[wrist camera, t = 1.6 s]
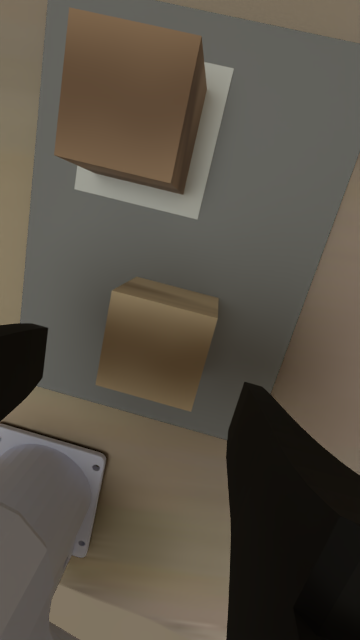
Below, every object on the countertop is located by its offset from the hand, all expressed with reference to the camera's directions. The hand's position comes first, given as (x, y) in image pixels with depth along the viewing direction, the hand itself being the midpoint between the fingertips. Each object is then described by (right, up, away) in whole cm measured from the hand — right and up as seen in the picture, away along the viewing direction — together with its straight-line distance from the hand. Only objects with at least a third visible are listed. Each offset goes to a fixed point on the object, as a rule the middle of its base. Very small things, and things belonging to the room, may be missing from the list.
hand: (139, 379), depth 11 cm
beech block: (+1, +2, +6) cm, 7 cm away
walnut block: (0, +11, +4) cm, 11 cm away
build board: (+1, +6, +6) cm, 8 cm away
